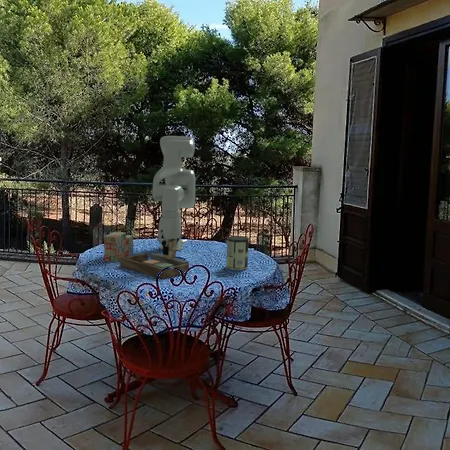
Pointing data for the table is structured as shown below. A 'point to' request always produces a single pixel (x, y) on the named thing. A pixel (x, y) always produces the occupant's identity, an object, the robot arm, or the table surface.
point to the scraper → (169, 255)
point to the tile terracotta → (151, 262)
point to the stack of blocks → (117, 246)
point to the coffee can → (237, 252)
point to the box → (149, 266)
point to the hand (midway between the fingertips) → (169, 253)
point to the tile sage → (163, 265)
